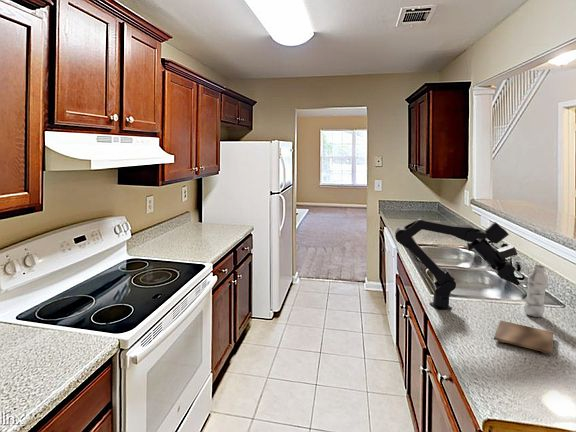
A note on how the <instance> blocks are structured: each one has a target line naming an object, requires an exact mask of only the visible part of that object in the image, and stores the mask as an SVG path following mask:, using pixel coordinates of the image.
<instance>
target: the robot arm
mask: <svg viewBox="0 0 576 432" xmlns="http://www.w3.org/2000/svg"><path fill="white" fill-rule="evenodd" d="M422 230H424V231H430V232H434V233H439V234H444V235H449V236H453V237H455V238H458V239H460V240H463V241H465V242H466V249H467V251H468V252H469V251H470V252H471V251H472V250H474V251H475V252H476V253H477V255H479V256H480V257H481V258H482V260H484V261H485V262H486V264H488V266H489V268H491V269H493V270H494V273H495V274H496V275H497V276H498V277H499V278H500V279H502V280H505V281H506V282H509V283H511V284H514V285H515V286H520V285H521V283H520V281H519V279H518V278H517V276H516V274H515V271H516V268H515V266H514V265H513V264H512V263H511V262H509V261H507V258H510V257H511V258H512V257H514V256H517V255H518V252H517V249H516V247H515V245H513V244H507V243H506V242H502V241H503V240H504V239H505V238H507V237H508V236H509V235H510V234H509V232H507V231H506V229H504V228H503V227H502V226H501V225H500V224H498V222H495V221H494V222H493V223H492V224H491V225H490V226H488V227H487V228H486V229H485V230H483V229H479V228H475V227H474V226H472V225H470V224H450V223H443V222H438V221H433V220H429V219H425V218H424V219H423V218H417V219H416V220H415V221H413V222H411V223H408V224H407V225H405V226H399V227H398V228H397V229H396V230H395V234H394V236H395V240H396V242H397V243H398V244H400V245H401V246H402V247H404V248H406V249H407V250H409V251H410V253H412V254H413V255H414V256H415V257H416V258H417V259H418V260H419V261H420V263H422V265H423V266H424V267H426V269H427V270H428V271H429V272H430V273H431V274H432V275H433V276H434V278H435V280H436V281H435V282H433V288H434V289H433V295H432V296H433V298H432V299H433V300H432V301H431V302H429V305H431V306H432V307H433V308H434V309H435V310H451V309H452V308H453V307H452V306H451V305H450V295H451V293H452V292H453V291H454V290H455V289H456V288H457V287H456V286H457V283H456V278H455V276H454V274H453V273H451V272H450V271H449V270H448V268H447V267H445V268H444V269H443V268H441V267H440V266H439V265H438V264H437V263H436V262H435V261H434V260H433V259H432V258H431V256H430V255H428V253H427V252H426V251H425V250H424V249H423V247H421V246H420V245H419V244H418V243H417V242H416V240H415V238H414V236H415V235H416V234H418V233H419V232H420V231H422ZM501 242H502V243H501ZM499 243H501V244H500V247H499V248H496V247H494V246H493V244H496V245H498V244H499Z"/></svg>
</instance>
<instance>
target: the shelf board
mask: <svg viewBox="0 0 576 432" xmlns="http://www.w3.org/2000/svg"><path fill="white" fill-rule="evenodd" d="M493 340H496V341H498V343H499V344H504V343H506V344H511V345H514V346H517V347H522V348H525V349H526V348H527V349H529V350H535V351H538V352H540V353H541V354H543V355H548V354H551V355H553V347H554V345H553V343H554V331H551V330H550V331H549V330H544V329H541V328H536V327H532V326H527V325H523V324H519V323H514V322H510V321H506V320H500V321H499V324H498V326H497V329H496V331H495V334H494V336H493Z"/></svg>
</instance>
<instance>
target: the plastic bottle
mask: <svg viewBox="0 0 576 432" xmlns="http://www.w3.org/2000/svg"><path fill="white" fill-rule="evenodd" d="M545 269H546V267H545V266H544V265H540V264H534V265H533V266H532V272H531V273H530V274H529V275H528V277H527V295H526V300H525V303H524V305H523V311H524V313H525V315H528V316H530V317H533V318H541V317H543V316H544V313H545V293H546V289H547V288H548V287H547V286H548V282H549V280H548V278H547V276H546V274H545V272H546V270H545Z"/></svg>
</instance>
